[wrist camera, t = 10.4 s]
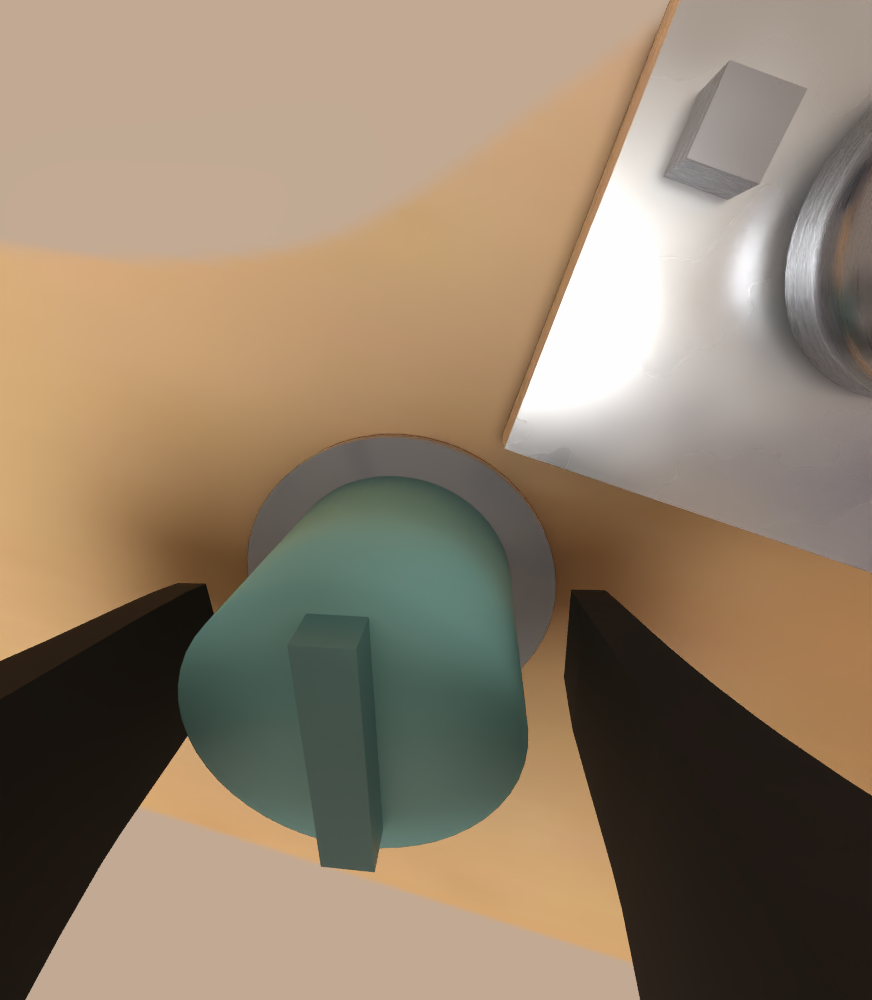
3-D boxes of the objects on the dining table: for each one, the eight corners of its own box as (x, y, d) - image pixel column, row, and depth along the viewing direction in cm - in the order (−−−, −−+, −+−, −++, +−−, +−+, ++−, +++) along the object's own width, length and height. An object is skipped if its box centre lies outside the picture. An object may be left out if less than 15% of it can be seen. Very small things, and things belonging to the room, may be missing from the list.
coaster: (607, 497, 9) (612, 504, 9) (489, 728, 12) (489, 741, 12) (283, 388, 9) (275, 391, 9) (236, 647, 12) (228, 658, 11)
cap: (503, 676, 11) (518, 909, 6) (302, 663, 11) (192, 872, 7) (517, 479, 9) (550, 623, 5) (275, 472, 9) (103, 597, 5)
